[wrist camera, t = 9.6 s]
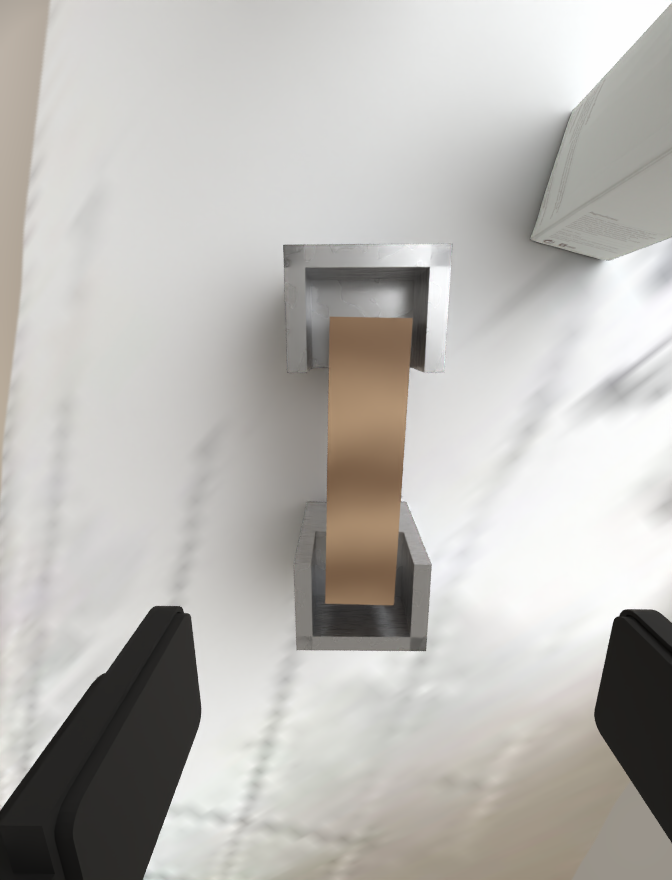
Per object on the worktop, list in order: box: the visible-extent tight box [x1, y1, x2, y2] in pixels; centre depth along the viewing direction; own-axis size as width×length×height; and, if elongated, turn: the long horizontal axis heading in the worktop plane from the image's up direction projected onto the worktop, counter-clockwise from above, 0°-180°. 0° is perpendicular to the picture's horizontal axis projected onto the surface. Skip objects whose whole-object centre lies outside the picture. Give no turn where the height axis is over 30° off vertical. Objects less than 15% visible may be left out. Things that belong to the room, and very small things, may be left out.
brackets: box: [283, 244, 452, 651], centre depth 26 cm, size 23×8×9 cm, turn 0°
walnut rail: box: [325, 317, 413, 605], centre depth 23 cm, size 16×4×4 cm, turn 179°
